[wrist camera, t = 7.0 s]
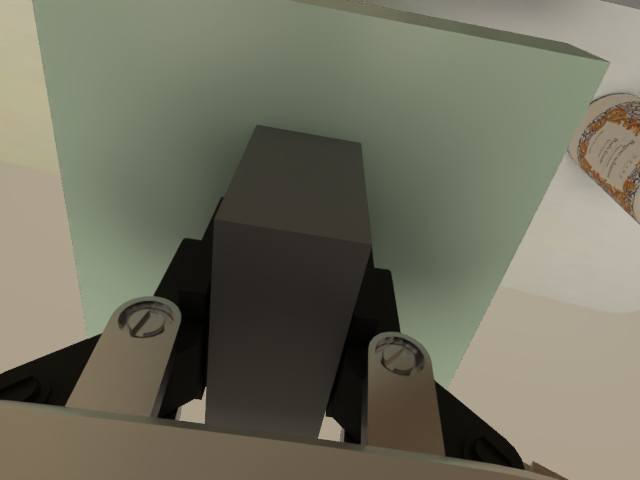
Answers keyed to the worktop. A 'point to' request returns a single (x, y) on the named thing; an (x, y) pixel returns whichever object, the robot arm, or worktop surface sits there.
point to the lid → (302, 172)
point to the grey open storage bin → (626, 3)
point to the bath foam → (612, 148)
